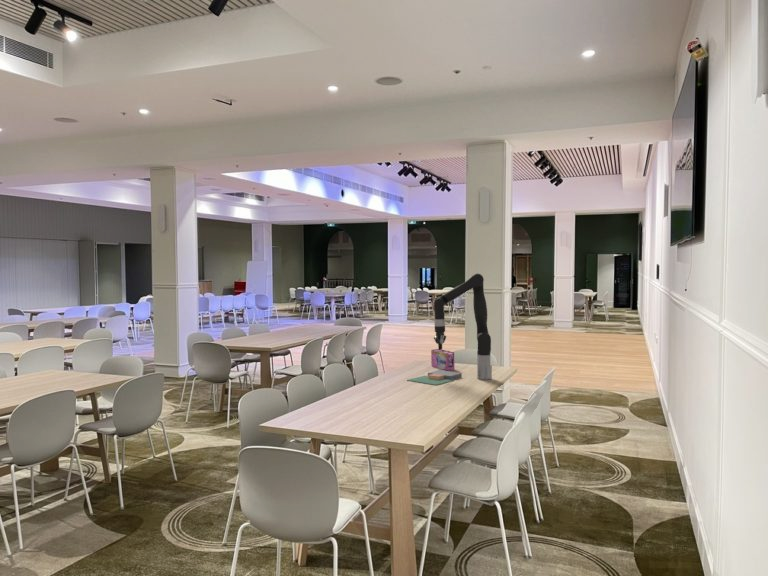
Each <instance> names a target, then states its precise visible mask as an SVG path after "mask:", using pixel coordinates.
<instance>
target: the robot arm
mask: <svg viewBox="0 0 768 576" xmlns="http://www.w3.org/2000/svg"><path fill="white" fill-rule="evenodd" d="M484 280H485V279H484V276H483V275H482V274H481V273H478V272H477V273H473V274H472V275H471V277H470V278H468V279H467V280H466V281H464V282H462V283H461V284H459V285H457V286H455V287H454V288H452V289H450V290H448V291H446V292H445V293H444V294H442V295H441V296H438V297H436V298H435V299H434V300H433V308H434V332H435V336H434V337H433V339H434V342H435V343H436V344H437V347H438V348H437V349H440V350H443V345H444V343H445V341H446V339H447V335H445V332H446V320H445V319H446V318H445V311H444V310H445V307H444V306H446V304H448V303H450V302H452V301H454V300H455V299H457V298H460V297H461V296H462V295H464V294H465V293H467V292H469V291H470V290H472V291H473V292H472V293H473V313H474V319H475V323H476V341H477V352H476V353H477V359H476V360H477V361H476V363H477V379H478V380H483V381H484V380H485V381H488V380H492V379H493V371H492V370H493V367H492V366H493V365H491V351H492V338H491V335H490V333H489V330H488V307H487V301H486V297H485V292H484Z"/></svg>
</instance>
